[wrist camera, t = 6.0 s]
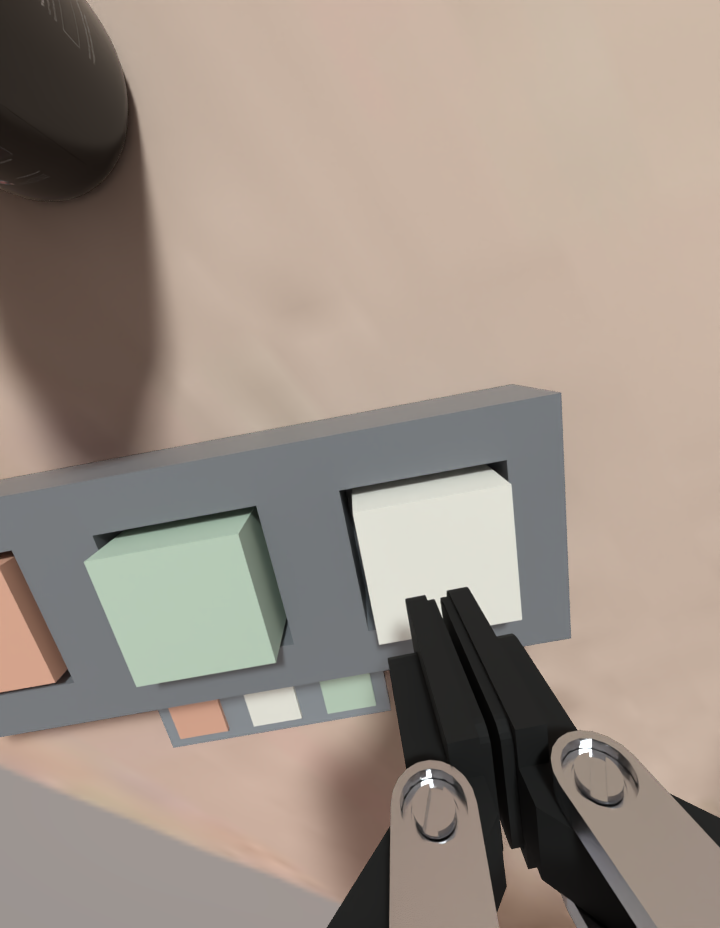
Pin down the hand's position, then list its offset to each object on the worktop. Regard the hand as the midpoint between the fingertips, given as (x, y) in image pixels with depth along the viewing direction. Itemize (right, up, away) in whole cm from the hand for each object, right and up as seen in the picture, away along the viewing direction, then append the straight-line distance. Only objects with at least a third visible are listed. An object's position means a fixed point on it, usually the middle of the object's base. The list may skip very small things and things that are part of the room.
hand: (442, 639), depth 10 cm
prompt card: (-7, -8, +11) cm, 15 cm away
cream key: (+1, +2, +6) cm, 6 cm away
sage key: (-8, 0, +6) cm, 10 cm away
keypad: (-8, +1, +8) cm, 12 cm away
